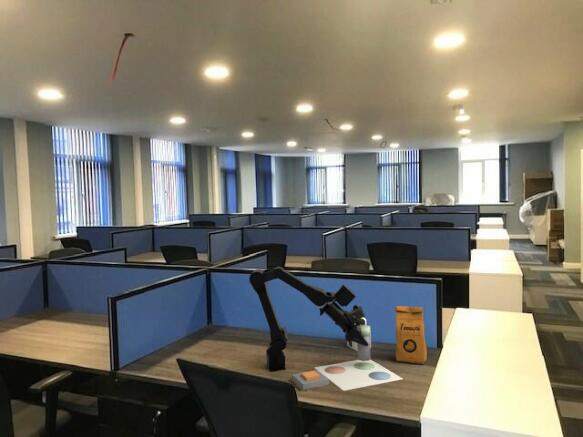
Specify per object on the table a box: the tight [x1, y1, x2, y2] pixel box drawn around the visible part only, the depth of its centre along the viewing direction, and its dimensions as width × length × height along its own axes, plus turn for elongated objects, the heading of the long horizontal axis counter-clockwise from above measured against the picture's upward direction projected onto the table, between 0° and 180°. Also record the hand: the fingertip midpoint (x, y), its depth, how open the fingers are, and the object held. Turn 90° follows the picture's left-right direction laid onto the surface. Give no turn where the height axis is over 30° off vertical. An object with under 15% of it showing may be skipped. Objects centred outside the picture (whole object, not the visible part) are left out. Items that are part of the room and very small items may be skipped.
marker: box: [356, 324, 371, 361], centre depth 183 cm, size 5×5×12 cm
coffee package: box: [395, 305, 428, 365], centre depth 190 cm, size 10×12×22 cm
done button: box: [300, 370, 320, 381], centre depth 170 cm, size 5×5×2 cm
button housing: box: [291, 369, 330, 392], centre depth 170 cm, size 10×10×2 cm
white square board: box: [314, 359, 404, 392], centre depth 177 cm, size 24×24×1 cm
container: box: [346, 317, 372, 351], centre depth 209 cm, size 8×8×13 cm
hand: (367, 343), depth 183 cm, fingers closed on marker, 5 cm apart
